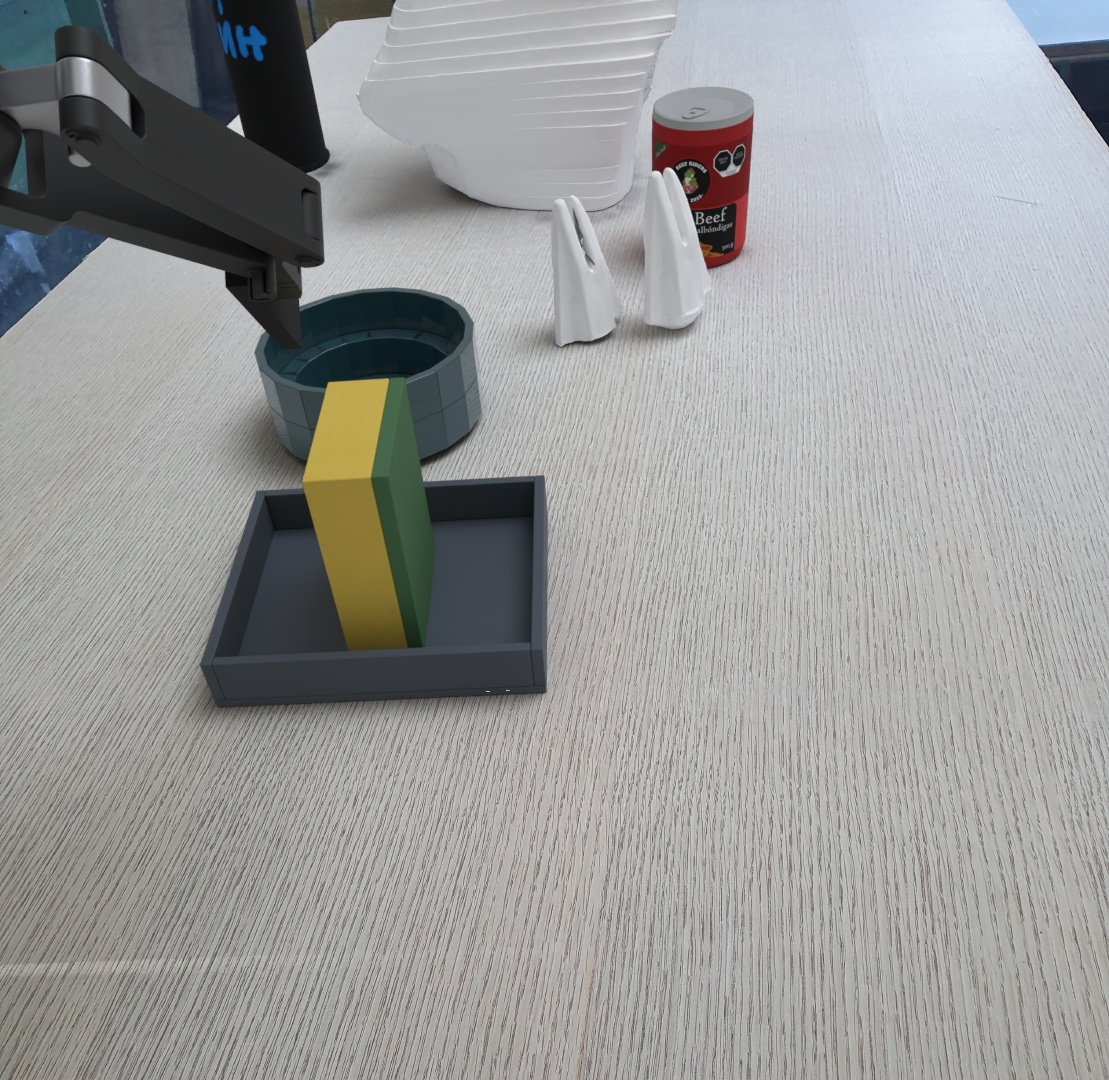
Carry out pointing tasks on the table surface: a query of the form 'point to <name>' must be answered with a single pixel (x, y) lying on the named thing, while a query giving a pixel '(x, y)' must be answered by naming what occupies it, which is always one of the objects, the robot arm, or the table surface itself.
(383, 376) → the bowl
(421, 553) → the sponge
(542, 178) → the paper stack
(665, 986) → the table surface
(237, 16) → the aerosol can
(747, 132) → the canned food
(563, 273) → the shaker set
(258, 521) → the tray
